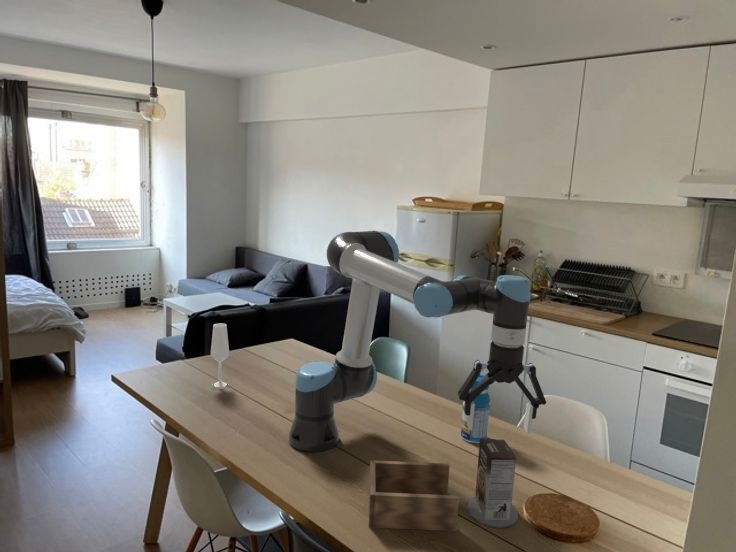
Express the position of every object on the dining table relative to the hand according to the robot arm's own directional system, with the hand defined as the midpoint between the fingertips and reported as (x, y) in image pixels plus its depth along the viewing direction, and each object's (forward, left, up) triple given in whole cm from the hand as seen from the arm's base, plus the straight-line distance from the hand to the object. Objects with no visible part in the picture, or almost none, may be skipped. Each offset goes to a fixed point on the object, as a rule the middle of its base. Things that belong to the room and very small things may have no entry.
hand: (498, 429), depth 124 cm
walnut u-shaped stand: (-20, 0, -21) cm, 29 cm away
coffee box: (0, 0, -21) cm, 21 cm away
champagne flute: (-87, +73, -22) cm, 115 cm away
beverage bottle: (+3, +39, -22) cm, 44 cm away
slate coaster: (0, 0, -21) cm, 21 cm away
